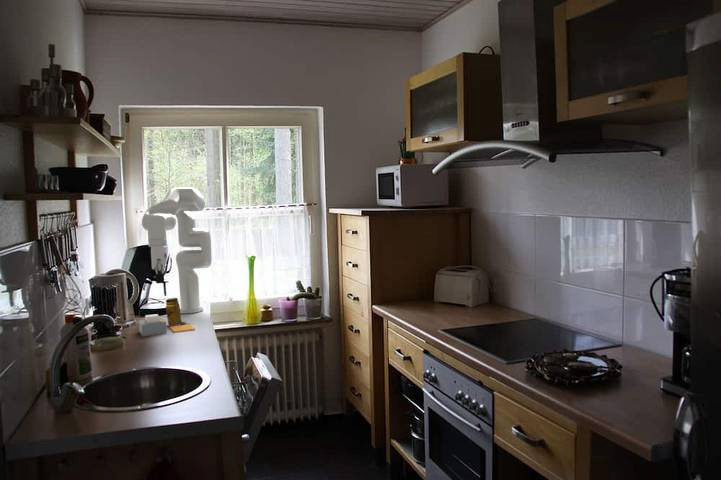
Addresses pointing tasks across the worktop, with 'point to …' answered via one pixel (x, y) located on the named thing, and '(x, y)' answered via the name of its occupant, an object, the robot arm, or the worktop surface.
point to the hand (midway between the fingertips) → (159, 281)
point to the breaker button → (151, 318)
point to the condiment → (173, 312)
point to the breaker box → (152, 327)
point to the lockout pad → (182, 328)
